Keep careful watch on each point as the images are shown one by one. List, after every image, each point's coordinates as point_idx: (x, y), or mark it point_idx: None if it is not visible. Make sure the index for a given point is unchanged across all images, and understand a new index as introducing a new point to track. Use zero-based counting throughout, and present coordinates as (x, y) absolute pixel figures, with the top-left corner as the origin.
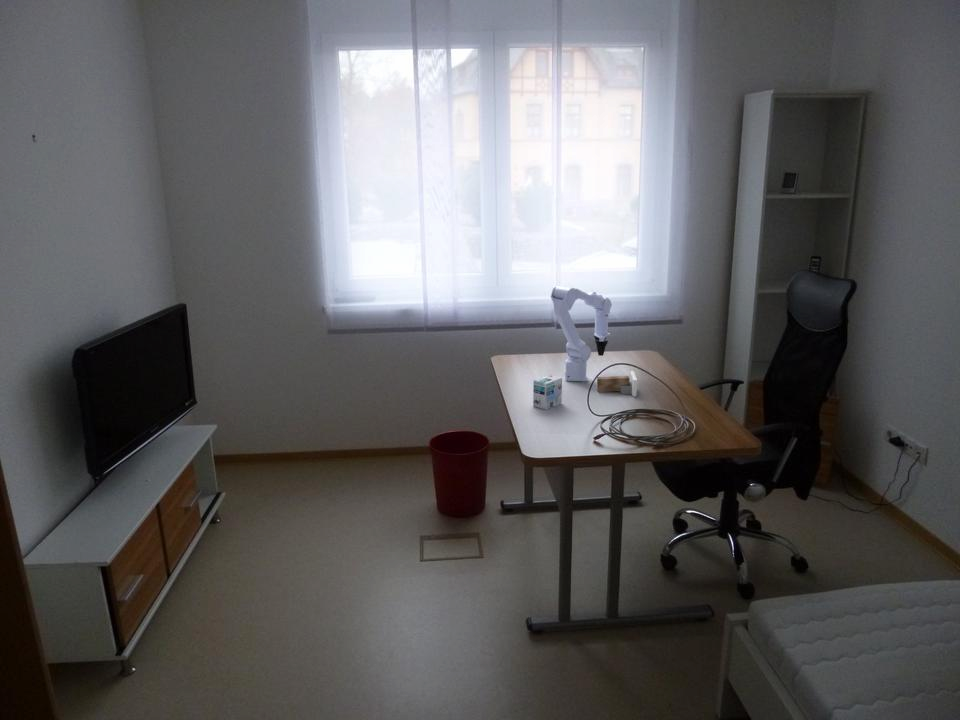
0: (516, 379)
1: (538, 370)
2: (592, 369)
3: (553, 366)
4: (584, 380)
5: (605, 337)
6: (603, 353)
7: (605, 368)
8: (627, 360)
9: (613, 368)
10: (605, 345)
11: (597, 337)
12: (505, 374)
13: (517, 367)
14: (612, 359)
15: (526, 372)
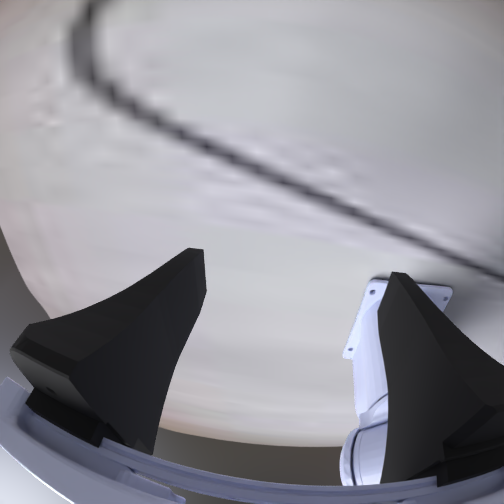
0: (347, 435)
1: (255, 402)
2: (215, 221)
3: (194, 363)
4: (448, 301)
5: (92, 366)
6: (418, 287)
7: (182, 137)
8: (32, 33)
9: (176, 84)
10: (492, 366)
11: (141, 433)
12: (297, 444)
13: (227, 425)
14: (26, 106)
15: (280, 421)
